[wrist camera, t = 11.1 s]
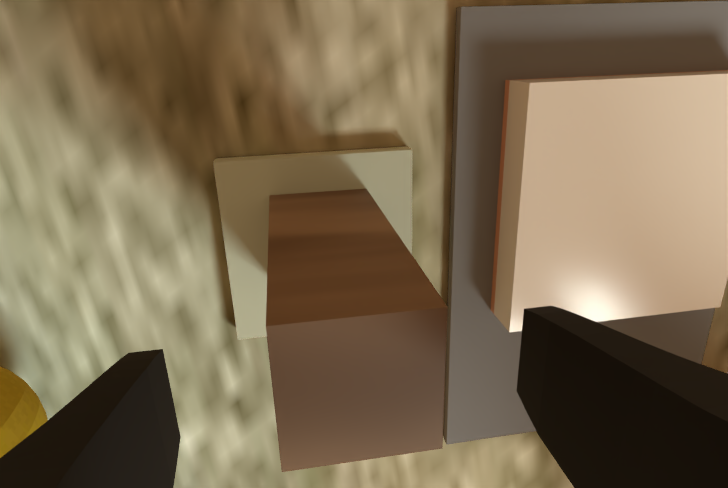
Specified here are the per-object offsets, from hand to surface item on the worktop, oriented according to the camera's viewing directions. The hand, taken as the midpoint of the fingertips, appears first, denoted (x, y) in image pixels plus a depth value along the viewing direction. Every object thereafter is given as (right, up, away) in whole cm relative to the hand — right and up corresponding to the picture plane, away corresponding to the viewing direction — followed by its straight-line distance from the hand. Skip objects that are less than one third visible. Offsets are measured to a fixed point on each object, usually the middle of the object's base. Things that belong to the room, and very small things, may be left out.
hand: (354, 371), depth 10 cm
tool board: (-1, +3, +7) cm, 7 cm away
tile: (+9, 0, +8) cm, 12 cm away
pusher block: (-1, +3, +6) cm, 7 cm away
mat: (+9, +3, +9) cm, 12 cm away
